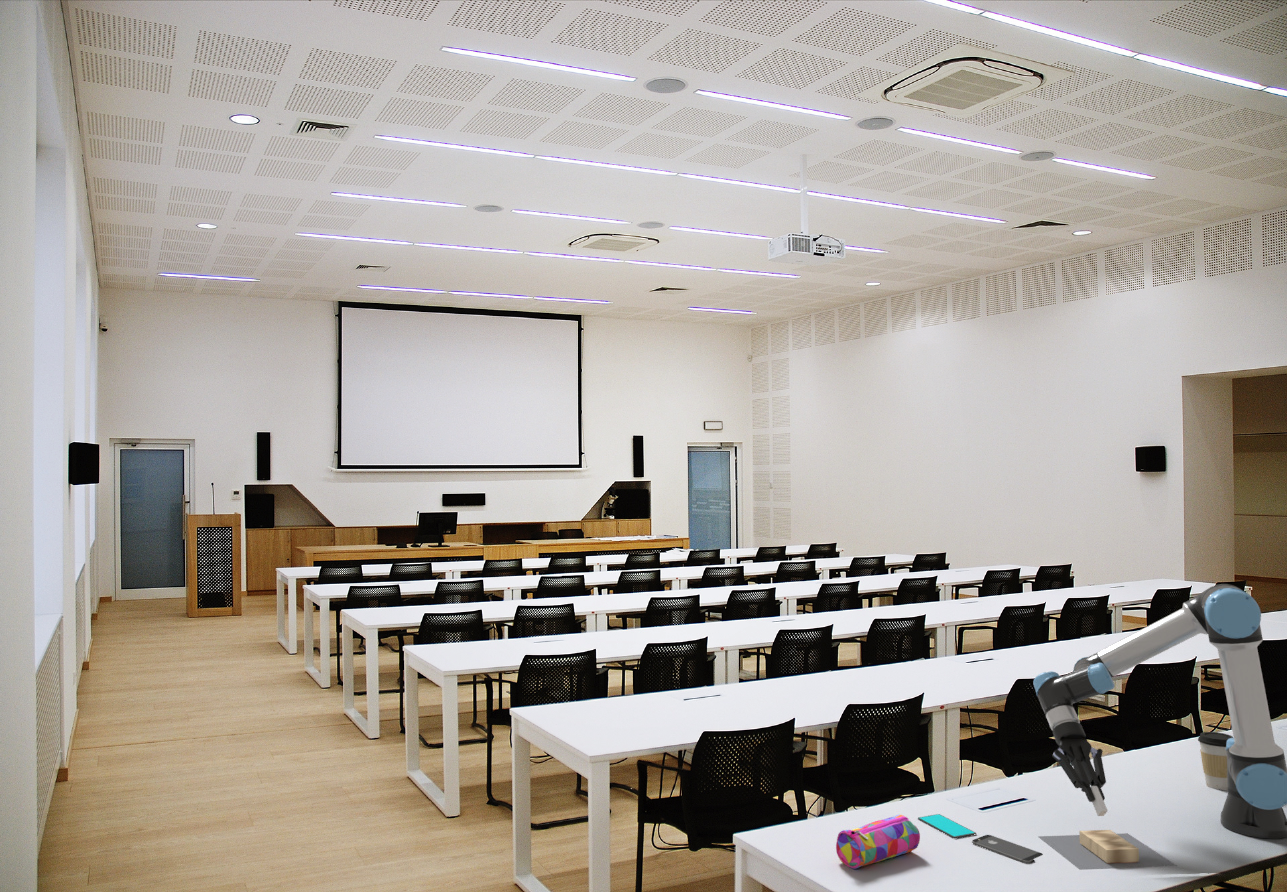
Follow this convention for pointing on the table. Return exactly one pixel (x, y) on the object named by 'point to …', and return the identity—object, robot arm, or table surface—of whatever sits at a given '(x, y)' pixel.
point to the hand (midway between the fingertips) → (1102, 813)
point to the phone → (1007, 848)
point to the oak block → (1109, 846)
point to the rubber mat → (1088, 860)
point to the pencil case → (877, 841)
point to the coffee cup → (1214, 758)
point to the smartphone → (946, 826)
